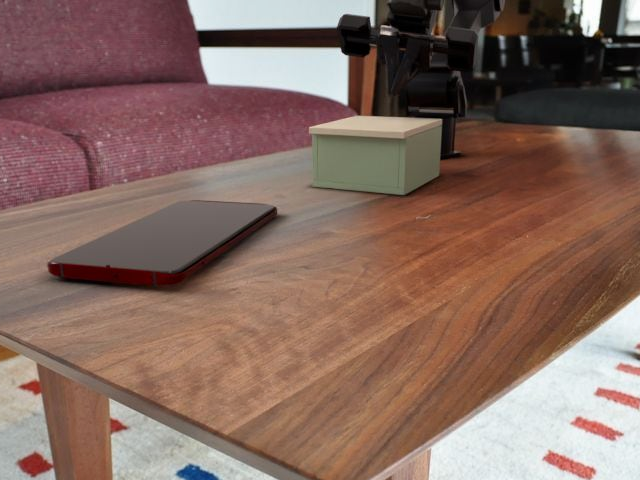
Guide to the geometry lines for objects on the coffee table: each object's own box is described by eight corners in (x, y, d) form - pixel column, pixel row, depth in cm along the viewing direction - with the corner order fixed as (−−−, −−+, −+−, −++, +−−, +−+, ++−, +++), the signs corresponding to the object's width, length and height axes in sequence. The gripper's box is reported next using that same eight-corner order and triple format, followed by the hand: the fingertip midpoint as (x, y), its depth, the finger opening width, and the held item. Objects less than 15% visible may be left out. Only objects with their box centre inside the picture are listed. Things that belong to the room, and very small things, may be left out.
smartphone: (282, 203, 73) (177, 272, 50) (282, 217, 73) (178, 292, 51) (179, 197, 76) (37, 261, 53) (180, 211, 76) (40, 279, 54)
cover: (403, 138, 78) (404, 131, 78) (308, 133, 84) (308, 127, 83) (442, 125, 90) (442, 118, 90) (356, 121, 96) (356, 115, 95)
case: (404, 195, 81) (406, 138, 79) (312, 186, 87) (311, 133, 84) (439, 176, 92) (442, 125, 90) (356, 169, 98) (356, 121, 96)
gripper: (348, -54, 87) (313, 46, 84) (492, -39, 83) (463, 67, 79) (357, 7, 98) (327, 98, 94) (486, 23, 93) (459, 119, 89)
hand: (390, 95), depth 89 cm, fingers closed
